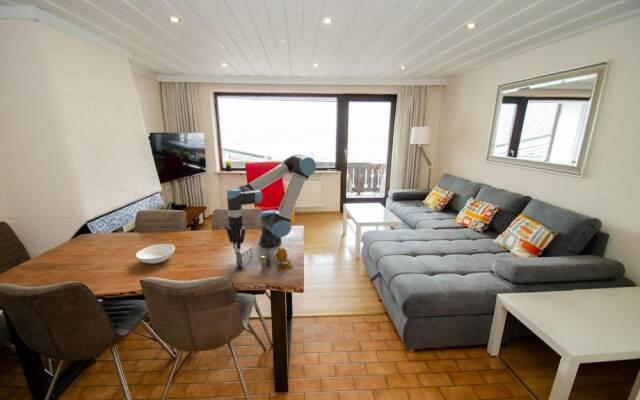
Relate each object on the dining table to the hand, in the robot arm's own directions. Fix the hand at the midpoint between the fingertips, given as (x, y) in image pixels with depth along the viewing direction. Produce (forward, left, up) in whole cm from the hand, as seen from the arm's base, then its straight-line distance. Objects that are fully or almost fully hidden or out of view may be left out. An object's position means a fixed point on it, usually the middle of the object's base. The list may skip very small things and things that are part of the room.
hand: (237, 253), depth 156 cm
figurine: (+15, +25, -5) cm, 30 cm away
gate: (+4, +5, -4) cm, 8 cm away
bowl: (-11, -46, -5) cm, 47 cm away
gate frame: (+11, +9, -5) cm, 15 cm away
